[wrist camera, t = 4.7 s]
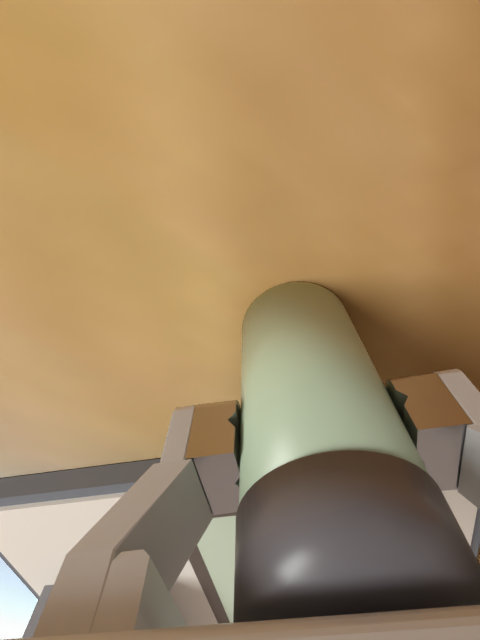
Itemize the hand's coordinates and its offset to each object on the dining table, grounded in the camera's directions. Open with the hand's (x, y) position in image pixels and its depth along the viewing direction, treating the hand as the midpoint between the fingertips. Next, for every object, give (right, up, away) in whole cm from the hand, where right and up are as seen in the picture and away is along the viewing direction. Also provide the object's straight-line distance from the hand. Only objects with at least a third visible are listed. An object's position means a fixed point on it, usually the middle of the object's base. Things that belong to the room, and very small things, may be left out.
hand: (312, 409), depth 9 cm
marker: (0, +2, +3) cm, 4 cm away
